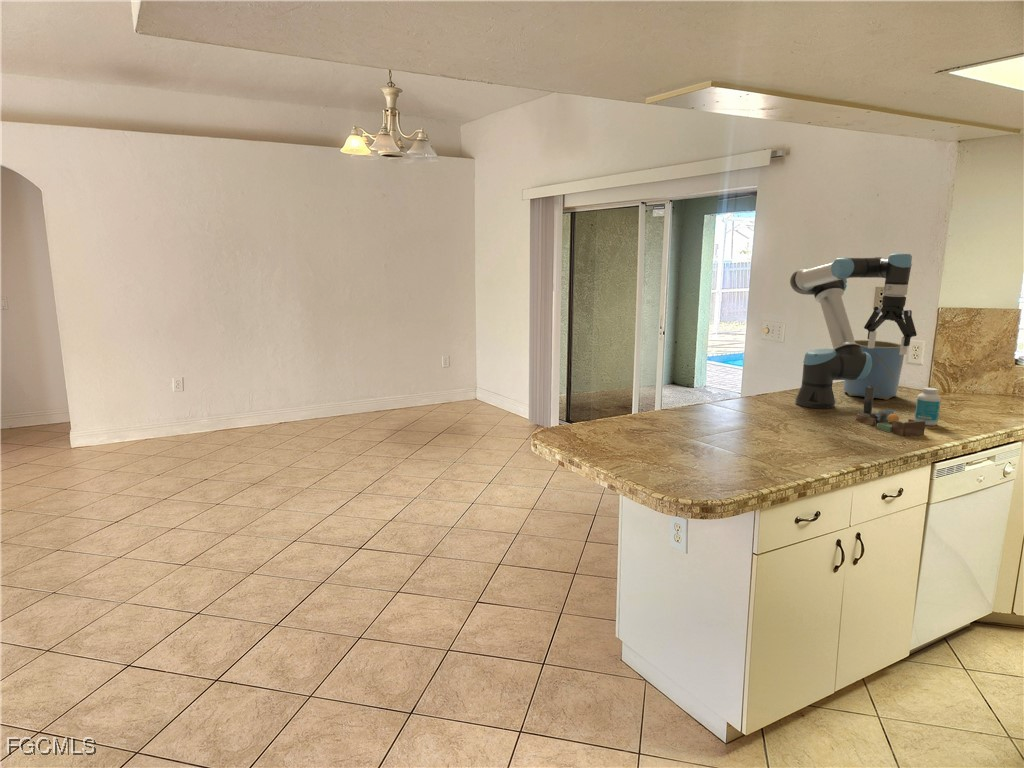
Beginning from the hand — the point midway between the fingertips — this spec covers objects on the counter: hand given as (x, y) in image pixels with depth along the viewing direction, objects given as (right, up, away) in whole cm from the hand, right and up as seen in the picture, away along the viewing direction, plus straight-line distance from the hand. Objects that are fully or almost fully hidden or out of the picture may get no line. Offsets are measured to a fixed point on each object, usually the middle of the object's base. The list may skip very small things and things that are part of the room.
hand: (886, 351), depth 239 cm
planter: (+19, -18, +44) cm, 51 cm away
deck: (-4, -29, -11) cm, 31 cm away
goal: (-2, -30, -16) cm, 34 cm away
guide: (-6, -27, -1) cm, 28 cm away
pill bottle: (+13, -28, -3) cm, 31 cm away
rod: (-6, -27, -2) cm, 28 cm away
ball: (-4, -25, -11) cm, 28 cm away
